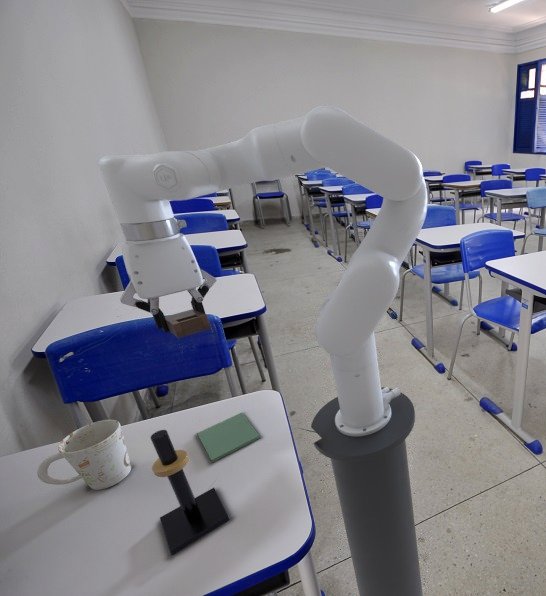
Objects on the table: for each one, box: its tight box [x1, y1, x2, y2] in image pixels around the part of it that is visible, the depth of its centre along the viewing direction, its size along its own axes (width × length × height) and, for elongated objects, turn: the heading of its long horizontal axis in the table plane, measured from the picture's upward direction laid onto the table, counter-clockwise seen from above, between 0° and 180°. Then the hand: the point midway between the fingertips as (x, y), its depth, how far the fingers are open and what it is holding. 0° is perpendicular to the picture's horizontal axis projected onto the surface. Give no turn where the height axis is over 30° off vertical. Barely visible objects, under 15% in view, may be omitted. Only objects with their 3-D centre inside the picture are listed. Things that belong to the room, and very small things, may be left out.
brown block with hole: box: [165, 308, 212, 339], centre depth 68 cm, size 12×5×2 cm, turn 46°
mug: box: [36, 419, 132, 491], centre depth 68 cm, size 8×13×10 cm, turn 124°
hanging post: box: [150, 429, 230, 556], centre depth 58 cm, size 8×8×18 cm
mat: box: [196, 412, 261, 463], centre depth 79 cm, size 9×11×1 cm
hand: (183, 324), depth 71 cm, fingers closed on brown block with hole, 5 cm apart
